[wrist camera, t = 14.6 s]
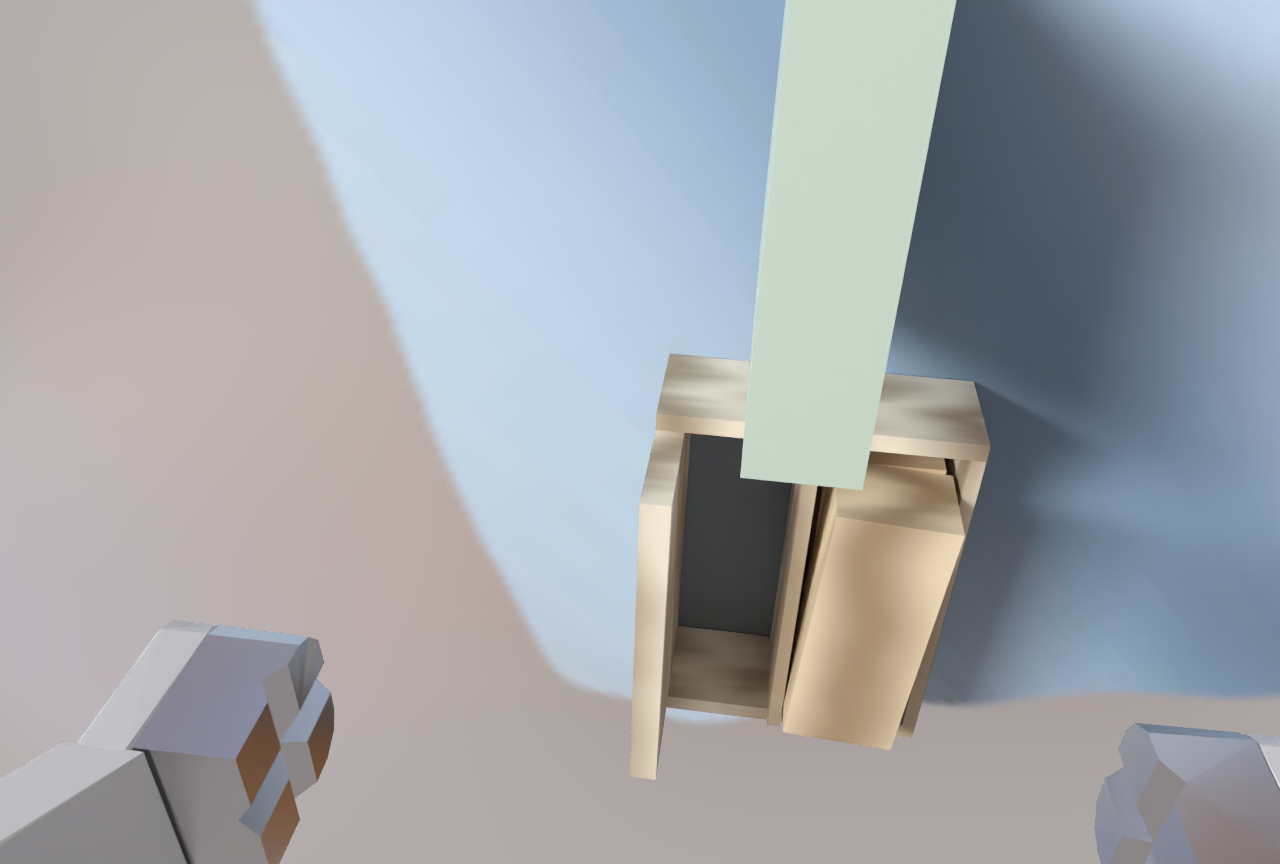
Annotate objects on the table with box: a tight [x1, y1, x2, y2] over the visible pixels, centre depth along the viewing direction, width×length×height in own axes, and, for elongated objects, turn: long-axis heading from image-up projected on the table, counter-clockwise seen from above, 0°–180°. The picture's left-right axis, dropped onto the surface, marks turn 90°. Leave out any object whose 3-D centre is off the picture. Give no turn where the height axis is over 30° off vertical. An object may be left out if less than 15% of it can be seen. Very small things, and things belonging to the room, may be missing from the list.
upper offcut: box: [783, 463, 965, 750], centre depth 45 cm, size 5×13×4 cm, turn 175°
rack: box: [630, 354, 991, 780], centre depth 46 cm, size 13×18×10 cm
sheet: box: [740, 0, 956, 490], centre depth 32 cm, size 4×14×16 cm, turn 178°
